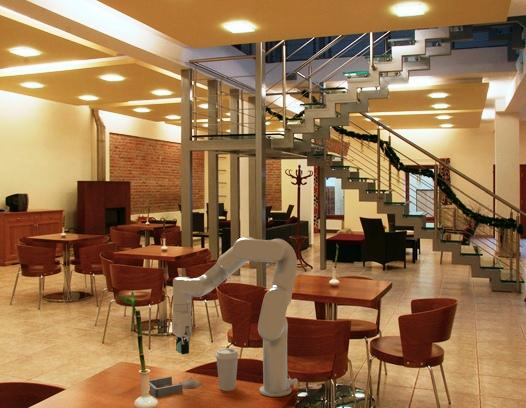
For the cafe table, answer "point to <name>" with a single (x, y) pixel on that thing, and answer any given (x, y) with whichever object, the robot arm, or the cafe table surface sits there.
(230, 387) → the coffee cup
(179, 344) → the ball
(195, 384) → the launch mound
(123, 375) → the cafe table surface
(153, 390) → the tray
